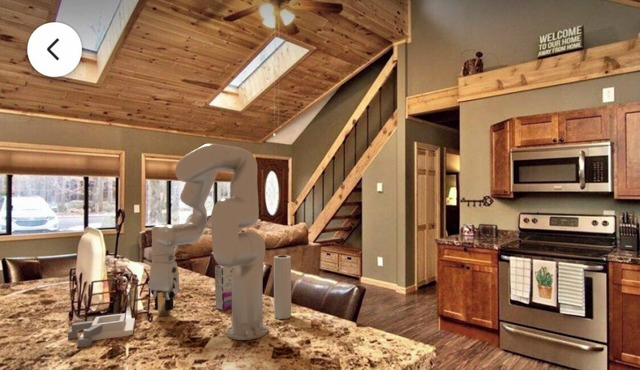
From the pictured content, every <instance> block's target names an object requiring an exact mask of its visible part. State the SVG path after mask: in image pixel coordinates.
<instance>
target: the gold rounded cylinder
mask: <svg viewBox="0 0 640 370" xmlns="http://www.w3.org/2000/svg"><path fill="white" fill-rule="evenodd" d="M169 294H171V293H170V292H169ZM156 296H158V310H157V315H158V316H161V317H162V316H167V315H170V314H171V310H169V311H166V310H165V300H167V298H166V292H165V291H158V292H157V293H156Z"/></svg>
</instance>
